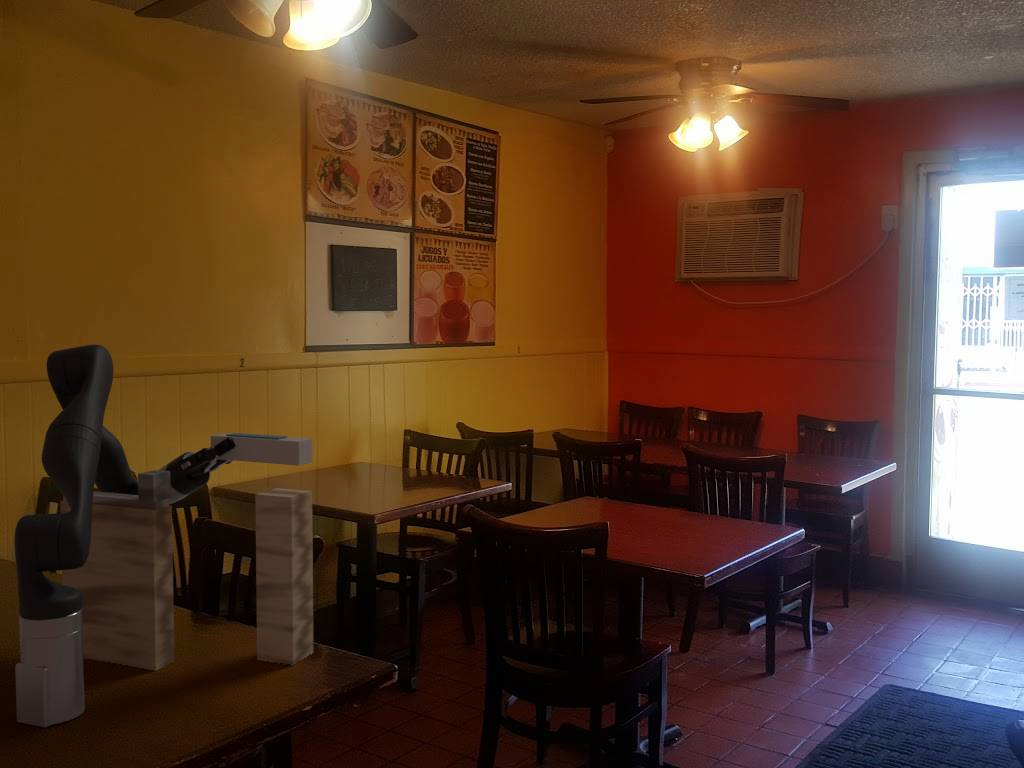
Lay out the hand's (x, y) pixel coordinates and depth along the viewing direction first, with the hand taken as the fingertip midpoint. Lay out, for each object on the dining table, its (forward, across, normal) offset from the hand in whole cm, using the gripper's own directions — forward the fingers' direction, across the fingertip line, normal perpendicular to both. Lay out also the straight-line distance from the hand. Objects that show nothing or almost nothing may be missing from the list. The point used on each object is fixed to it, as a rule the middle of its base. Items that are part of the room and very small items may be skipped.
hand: (240, 440), depth 182 cm
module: (+2, 0, +6) cm, 6 cm away
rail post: (-37, -13, +27) cm, 48 cm away
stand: (-12, 0, +41) cm, 43 cm away
